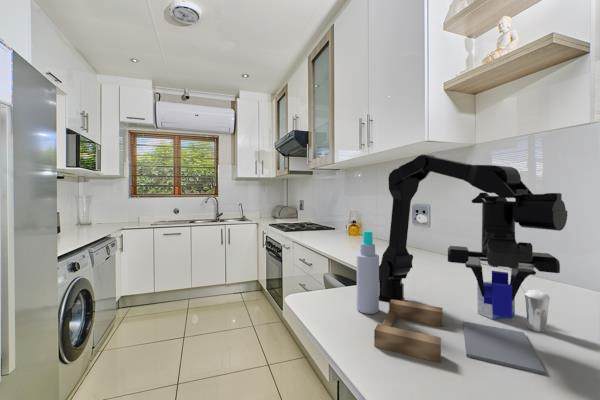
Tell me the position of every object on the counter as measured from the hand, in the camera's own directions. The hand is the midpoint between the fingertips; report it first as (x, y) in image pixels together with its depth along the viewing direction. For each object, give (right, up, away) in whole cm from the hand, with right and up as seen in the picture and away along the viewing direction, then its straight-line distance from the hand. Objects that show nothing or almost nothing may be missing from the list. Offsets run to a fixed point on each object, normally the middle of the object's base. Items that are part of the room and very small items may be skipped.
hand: (496, 298), depth 59 cm
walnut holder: (-16, -10, +5) cm, 20 cm away
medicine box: (+10, -10, +15) cm, 21 cm away
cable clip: (0, -2, 0) cm, 2 cm away
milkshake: (+14, -10, +7) cm, 19 cm away
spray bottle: (-23, -10, +18) cm, 31 cm away
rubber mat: (0, -10, 0) cm, 10 cm away
